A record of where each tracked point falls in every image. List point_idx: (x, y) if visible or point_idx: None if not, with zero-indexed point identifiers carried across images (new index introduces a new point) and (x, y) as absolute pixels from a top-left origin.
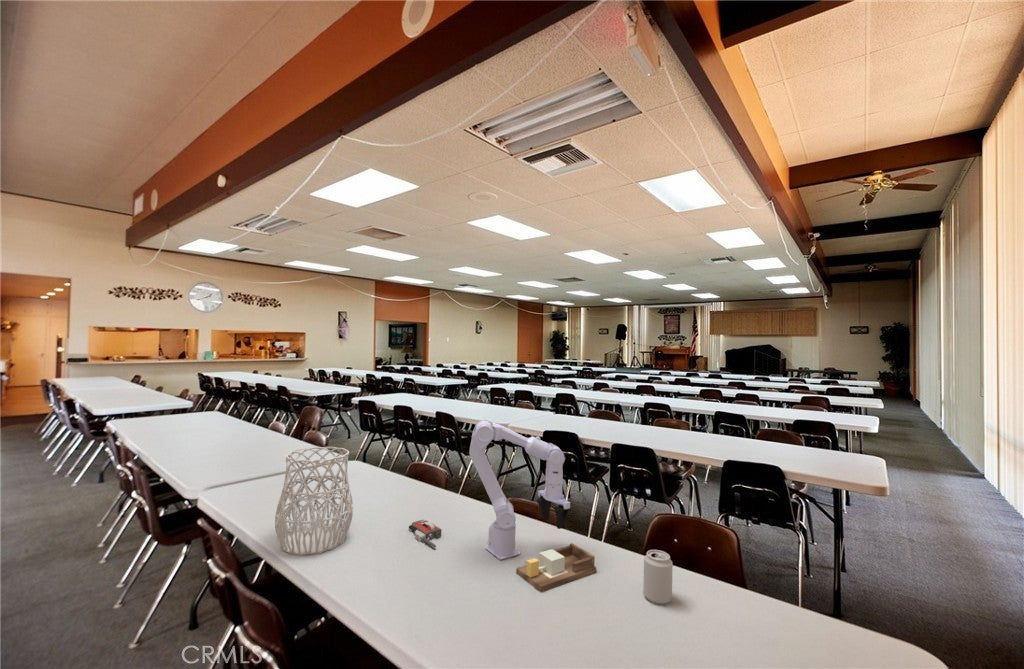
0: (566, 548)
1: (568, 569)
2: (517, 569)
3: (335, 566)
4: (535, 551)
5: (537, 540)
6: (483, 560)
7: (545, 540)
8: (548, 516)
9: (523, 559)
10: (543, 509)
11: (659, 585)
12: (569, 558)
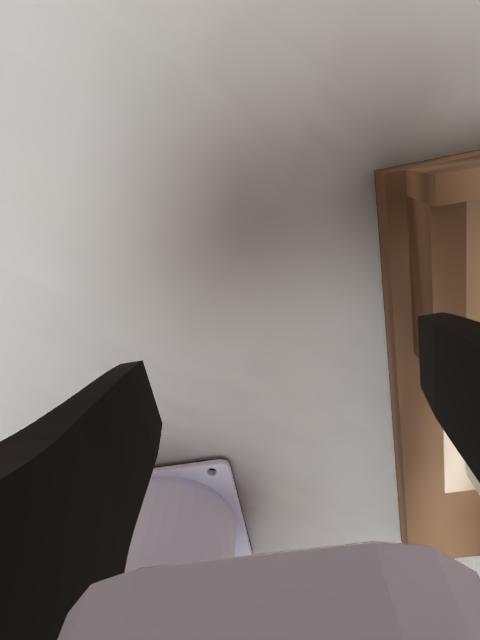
0: (463, 264)
1: None
2: None
3: None
4: (214, 363)
5: (55, 278)
6: None
7: (65, 220)
8: (132, 387)
9: (284, 461)
10: (117, 551)
11: None
12: (478, 242)
